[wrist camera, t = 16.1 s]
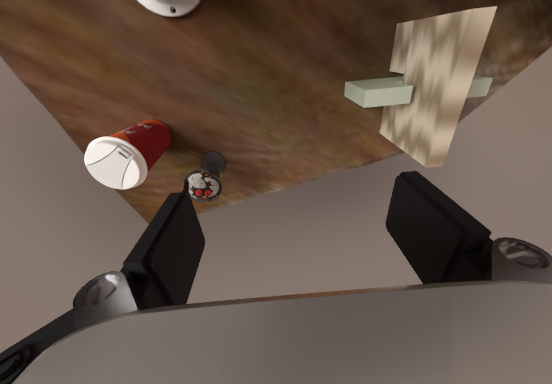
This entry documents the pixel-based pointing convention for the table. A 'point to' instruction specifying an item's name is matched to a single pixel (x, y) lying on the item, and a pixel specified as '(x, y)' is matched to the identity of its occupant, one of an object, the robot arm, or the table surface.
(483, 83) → the sage board
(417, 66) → the maple plate
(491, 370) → the robot arm
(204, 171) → the sundae
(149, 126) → the coffee cup
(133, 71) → the table surface
